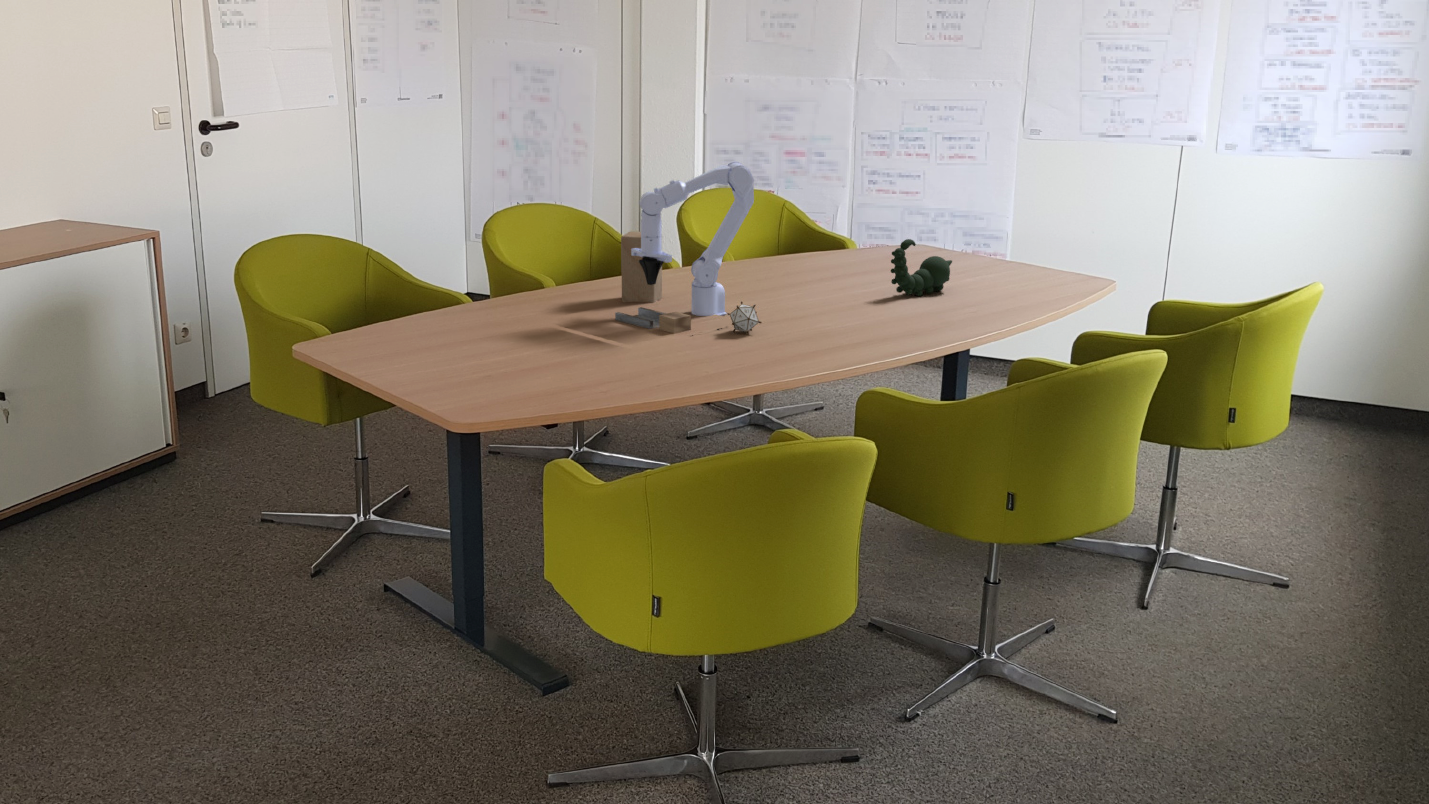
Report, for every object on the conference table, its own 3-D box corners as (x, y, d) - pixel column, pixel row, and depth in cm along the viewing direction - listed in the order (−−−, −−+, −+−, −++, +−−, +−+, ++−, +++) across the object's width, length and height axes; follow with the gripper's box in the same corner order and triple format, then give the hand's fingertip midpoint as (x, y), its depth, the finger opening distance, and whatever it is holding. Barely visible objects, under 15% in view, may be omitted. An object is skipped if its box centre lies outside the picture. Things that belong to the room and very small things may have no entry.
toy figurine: (906, 306, 363) (963, 289, 377) (906, 245, 357) (963, 229, 370) (884, 300, 371) (940, 283, 384) (883, 240, 364) (941, 225, 378)
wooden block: (654, 305, 354) (653, 237, 348) (621, 303, 356) (620, 236, 350) (662, 298, 363) (662, 232, 357) (630, 296, 365) (629, 230, 359)
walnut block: (676, 326, 327) (676, 311, 326) (690, 330, 323) (690, 315, 322) (659, 329, 323) (659, 315, 322) (674, 333, 319) (674, 319, 318)
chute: (641, 316, 340) (641, 307, 339) (701, 332, 324) (701, 322, 323) (615, 322, 333) (615, 312, 332) (675, 338, 317) (675, 328, 316)
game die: (741, 347, 324) (726, 322, 317) (733, 329, 330) (718, 304, 323) (770, 331, 323) (755, 306, 316) (761, 313, 329) (747, 288, 322)
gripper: (623, 234, 335) (623, 282, 339) (658, 241, 325) (658, 290, 329) (641, 231, 340) (642, 278, 344) (677, 238, 330) (677, 286, 334)
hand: (651, 284), depth 337 cm, fingers closed
